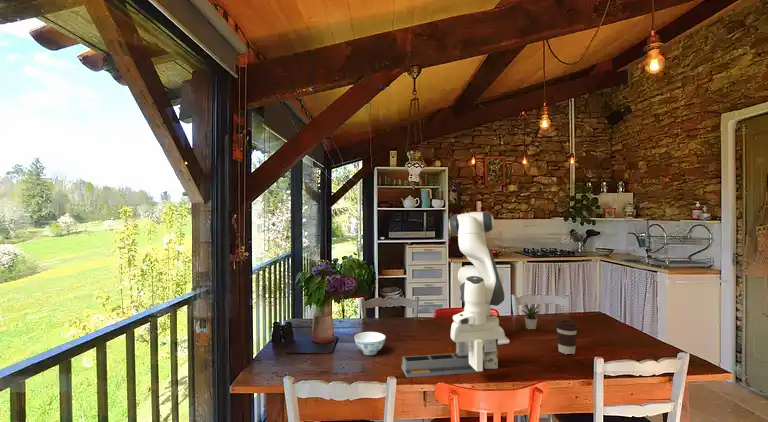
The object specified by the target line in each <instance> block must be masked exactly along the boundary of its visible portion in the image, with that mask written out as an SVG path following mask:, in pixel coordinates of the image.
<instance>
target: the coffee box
mask: <svg viewBox="0 0 768 422" xmlns="http://www.w3.org/2000/svg"><path fill="white" fill-rule="evenodd" d="M498 350H499V345H498V339H492V340H485V344H484V345H483V370H487V369H488V370H489V369H495V370H496V369H498V368H499V367H498V366H499V364H498V363H499V351H498Z"/></svg>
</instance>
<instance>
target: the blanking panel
mask: <svg viewBox="0 0 768 422" xmlns="http://www.w3.org/2000/svg"><path fill="white" fill-rule="evenodd" d="M470 346H472V347H473V351H472V352H469V364H470V365H471V366H472V367H473V368H474V369H475V370H476V371H483V372H484V368H483V341H482V340H481V339H475V340H474V341H471V344H470Z"/></svg>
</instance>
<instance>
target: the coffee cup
mask: <svg viewBox="0 0 768 422" xmlns="http://www.w3.org/2000/svg"><path fill="white" fill-rule="evenodd" d="M555 328H556V338H557V341H556V342H557V347H558V352H559V353H560V352H561V353H560V354H562V353H564V354H563V355H567V354H573V355H575V354H576V347H577V339H578V338H577V337H578V333H577V331H579V326H578V325H577V324H576V323H575V322H574V321H572V320H567V319H561V320H558V322H556V323H555ZM574 353H575V354H574Z"/></svg>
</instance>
